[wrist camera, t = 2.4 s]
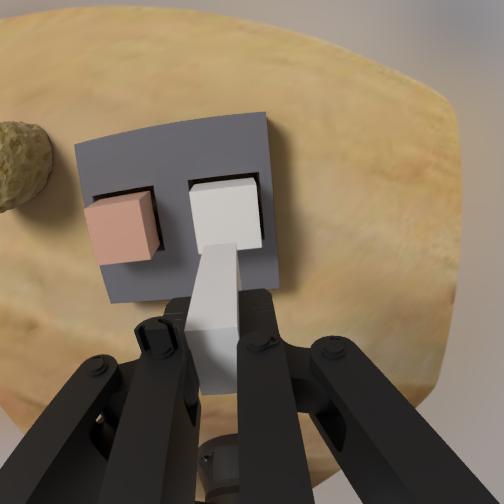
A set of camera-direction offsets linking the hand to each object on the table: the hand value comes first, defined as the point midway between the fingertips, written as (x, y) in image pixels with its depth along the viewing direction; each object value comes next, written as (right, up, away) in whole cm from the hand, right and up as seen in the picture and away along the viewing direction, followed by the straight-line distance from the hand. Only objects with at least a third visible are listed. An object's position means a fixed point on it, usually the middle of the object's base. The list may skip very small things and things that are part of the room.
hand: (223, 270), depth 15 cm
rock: (-24, +11, +12) cm, 29 cm away
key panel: (-5, +5, +15) cm, 16 cm away
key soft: (-1, +5, +12) cm, 13 cm away
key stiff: (-10, +4, +12) cm, 16 cm away
